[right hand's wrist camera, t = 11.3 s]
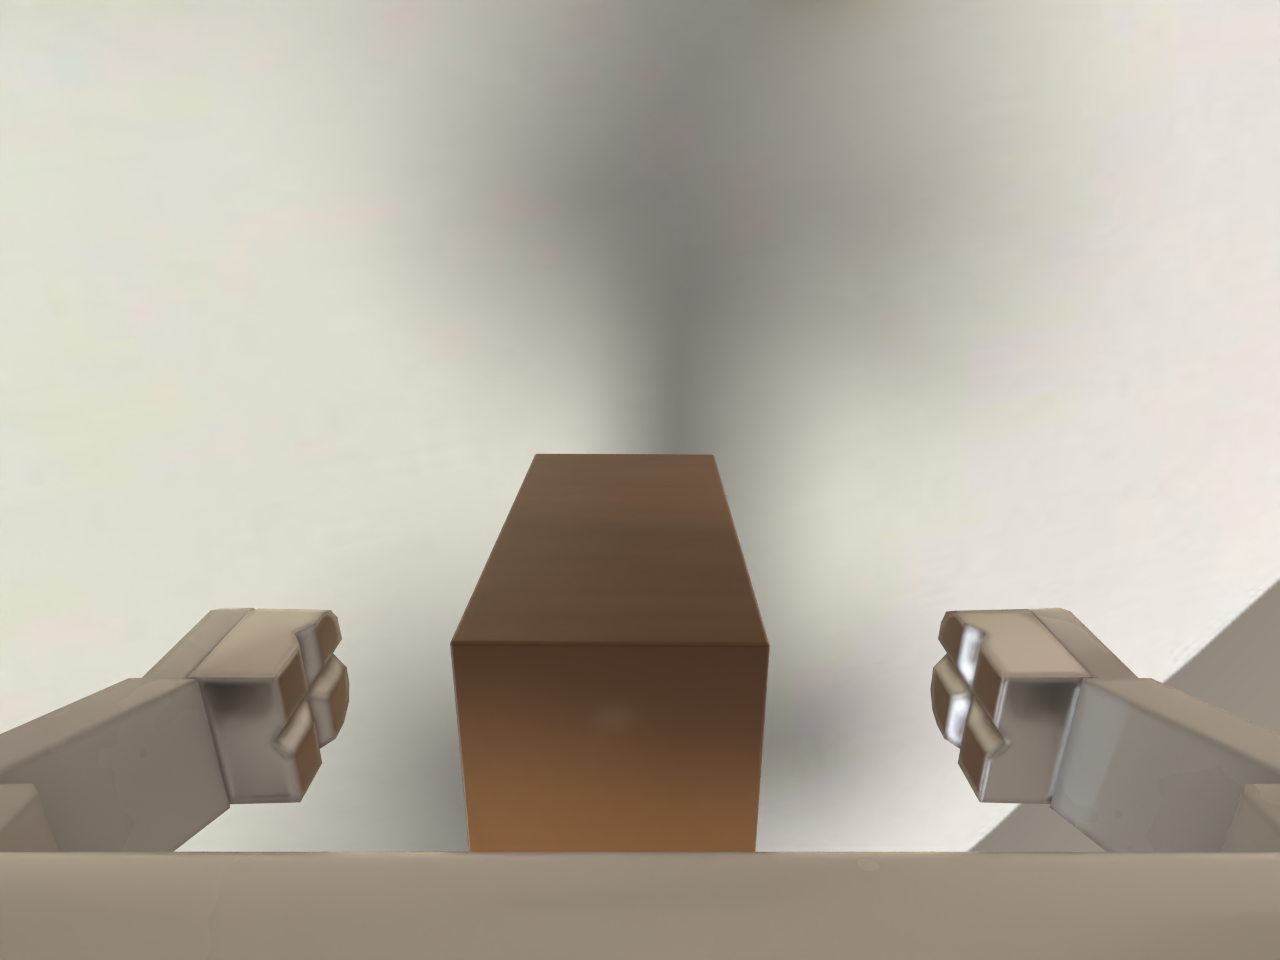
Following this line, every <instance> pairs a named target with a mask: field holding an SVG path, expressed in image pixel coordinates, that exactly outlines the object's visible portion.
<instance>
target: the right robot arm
mask: <svg viewBox="0 0 1280 960" xmlns="http://www.w3.org/2000/svg"><path fill="white" fill-rule="evenodd" d="M341 640H342V637H341V632H340V628H339V623H338V618H337V616H336V615H335V614H334V613H333V612H332V611H331V610H298V609H253V608H233V609H217V610H211V611H210V612H209V613H208V614H207V615H206V616H205V617H204V618H203V619H202V620H201V621H200V622H199V623H198V624H197V625H196V626H195V627H194V628H193V629H192V630H191V631H189V632H188V633H187V634H186V635H185V636H184V637H183V638H182V639H181V640H180V641H179V642H178V643H177V644H176V645H175V646H174V647H173V648H172V649H171V650H170V651H169V652H168V653H167V654H166V655H165V656H164V657H163V658H162V659H161V660H160V661H159V662H158V663H157V664H156V665H155V666H154V667H153V668H152V669H150V670H149V671H148V672H147V673H146V674H145V675H144V676H143V677H142V678H129V679H126V680H124V681H122V682H119V683H117V684H115V685H113V686H110V687H108V688H106V689H103V690H101V691H99V692H96V693H94V694H92V695H90V696H87V697H85V698H83V699H80V700H78V701H76V702H74V703H71V704H69V705H67V706H64V707H62V708H60V709H57V710H55V711H53V712H51V713H48V714H46V715H44V716H41V717H39V718H37V719H34V720H32V721H30V722H28V723H25V724H23V725H21V726H18V727H16V728H14V729H11V730H9V731H7V732H5V733H2V734H0V960H1280V734H1277V733H1275V732H1273V731H1270V730H1268V729H1266V728H1264V727H1261V726H1259V725H1257V724H1254V723H1252V722H1250V721H1248V720H1245V719H1243V718H1241V717H1238V716H1236V715H1234V714H1232V713H1229V712H1227V711H1225V710H1222V709H1220V708H1218V707H1215V706H1213V705H1211V704H1209V703H1206V702H1204V701H1202V700H1199V699H1197V698H1195V697H1192V696H1190V695H1188V694H1186V693H1183V692H1181V691H1179V690H1177V689H1174V688H1172V687H1170V686H1167V685H1165V684H1163V683H1161V682H1158V681H1156V680H1154V679H1151V678H1138V677H1137V676H1136V675H1135V674H1134V673H1133V672H1132V671H1131V670H1130V669H1129V668H1128V667H1127V666H1125V665H1124V664H1123V663H1122V662H1121V661H1120V660H1119V659H1118V658H1117V657H1116V656H1115V655H1114V654H1113V653H1112V652H1111V651H1110V650H1109V649H1108V648H1107V647H1106V646H1105V645H1104V644H1103V643H1102V642H1101V641H1100V640H1099V639H1098V638H1097V637H1096V636H1095V635H1094V634H1093V633H1092V632H1091V631H1090V630H1089V629H1088V628H1087V627H1086V626H1085V625H1084V624H1082V623H1081V622H1080V621H1079V620H1078V619H1077V618H1076V617H1075V616H1074V615H1073V614H1072V613H1071V612H1070V611H1067V610H1065V609H1062V608H1044V609H1011V610H971V611H948V612H946V613H945V615H944V618H943V620H942V622H941V626H940V631H939V637H938V640H939V641H940V643H941V644H942V646H943V647H944V649H945V650H946V652H947V654H946V655H945V656H944V657H943V658H942V659H941V660H940V661H939V662H938V663H937V664H936V665H935V666H934V667H933V674H932V682H931V699H932V710H933V713H934V716H935V720H936V723H937V725H938V727H939V729H940V731H941V733H942V735H943V737H944V738H945V739H946V740H948V741H949V742H951V743H952V744H954V745H955V746H957V747H958V748H960V754H959V760H958V764H959V766H960V768H961V769H962V771H963V773H964V775H965V777H966V778H967V780H968V782H969V784H970V785H971V787H972V789H973V791H974V793H975V794H976V796H977V798H978V800H979V801H980V802H990V803H1027V804H1051V805H1050V808H1051V809H1053V810H1054V811H1055V812H1057V813H1058V814H1059V815H1061V816H1062V817H1063V818H1064V819H1066V820H1067V821H1068V822H1069V823H1071V824H1072V825H1073V826H1075V827H1076V828H1077V829H1078V830H1080V831H1081V832H1082V833H1084V834H1085V835H1086V836H1087V837H1089V838H1090V839H1091V840H1093V841H1094V842H1095V843H1097V844H1098V845H1099V846H1100V847H1102V848H1103V849H1104V850H1106V851H1107V852H173V851H175V850H176V849H177V848H179V847H180V846H181V845H182V844H184V843H185V842H186V841H188V840H189V839H190V838H191V837H193V836H194V835H195V834H197V833H198V832H199V831H200V830H202V829H203V828H204V827H206V826H207V825H208V824H210V823H211V822H212V821H213V820H215V819H216V818H217V817H219V816H220V815H221V814H222V813H224V812H225V811H226V810H228V809H229V808H230V805H229V804H253V803H288V802H301V800H302V798H303V796H304V794H305V793H306V791H307V789H308V787H309V786H310V784H311V782H312V780H313V778H314V777H315V775H316V773H317V771H318V769H319V768H320V766H321V764H322V760H321V754H320V748H322V747H323V746H325V745H326V744H328V743H329V742H331V741H332V740H334V739H335V738H336V737H337V735H338V733H339V731H340V729H341V727H342V725H343V723H344V720H345V716H346V711H347V707H348V703H349V680H348V673H347V667H346V666H345V665H344V664H343V663H342V662H341V661H340V660H339V659H338V658H337V657H336V656H335V655H334V654H333V652H334V650H335V649H336V647H337V646H338V644H339V643H340V641H341Z"/></svg>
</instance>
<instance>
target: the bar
mask: <svg viewBox="0 0 1280 960" xmlns="http://www.w3.org/2000/svg"><path fill="white" fill-rule="evenodd" d="M450 647H451V658H452V669H453V680H454V691H455V702H456V713H457V724H458V735H459V746H460V757H461V768H462V779H463V790H464V801H465V812H466V823H467V834H468V845H469V852H755V848H756V834H757V820H758V805H759V791H760V777H761V763H762V748H763V734H764V720H765V705H766V691H767V677H768V662H769V648H770V645H769V642H768V638H767V635H766V632H765V628H764V625H763V621H762V618H761V615H760V611H759V608H758V604H757V601H756V598H755V594H754V591H753V587H752V584H751V580H750V577H749V574H748V570H747V567H746V563H745V560H744V557H743V553H742V550H741V546H740V543H739V540H738V536H737V533H736V529H735V526H734V523H733V519H732V516H731V512H730V509H729V506H728V502H727V499H726V495H725V492H724V489H723V485H722V482H721V478H720V475H719V472H718V468H717V465H716V461H715V458H714V455H663V454H536V455H535V456H534V459H533V461H532V463H531V465H530V468H529V470H528V472H527V474H526V476H525V479H524V481H523V483H522V485H521V488H520V490H519V492H518V494H517V496H516V499H515V501H514V503H513V505H512V508H511V510H510V512H509V514H508V516H507V519H506V521H505V523H504V525H503V527H502V530H501V532H500V534H499V536H498V539H497V541H496V543H495V545H494V547H493V550H492V552H491V554H490V556H489V559H488V561H487V563H486V565H485V567H484V570H483V572H482V574H481V576H480V578H479V581H478V583H477V585H476V587H475V590H474V592H473V594H472V596H471V598H470V601H469V603H468V605H467V607H466V610H465V612H464V614H463V616H462V618H461V621H460V623H459V625H458V627H457V630H456V632H455V634H454V636H453V638H452V641H451V643H450Z"/></svg>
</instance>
